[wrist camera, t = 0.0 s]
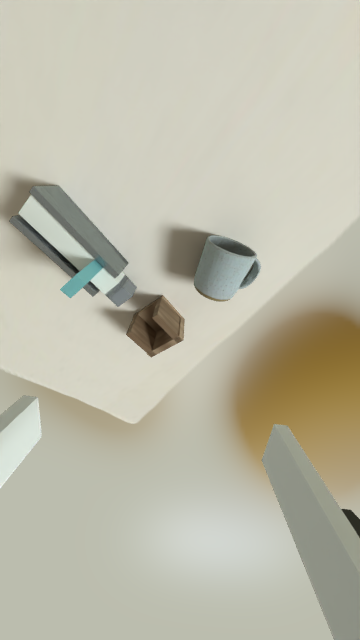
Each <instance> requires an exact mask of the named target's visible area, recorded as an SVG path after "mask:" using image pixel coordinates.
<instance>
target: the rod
mask: <svg viewBox="0 0 360 640" xmlns="http://www.w3.org/2000/svg"><path fill="white" fill-rule="evenodd" d="M18 214H19V215H20V216H22V217H23V218H24V219H25V220H26V221H27V222H28V223H29V224H30V225H31V226H32V227H33V228H34V229H35V230H36V231H38V232H39V233H40V234H41V235H42V236H43V237H44V238H45V239H46V240H47V241H48V242H49V243H50V244H51V245H53V246H54V247H55V248H56V249H57V250H58V251H59V252H60V253H61V254H62V255H63V256H64V257H65V258H66V259H67V260H69V261H70V262H71V263H72V264H73V265H74V266H75V267H76V268H77V269H78V270H79V271H80V272H79V273H77V274H76V275H75V276H74V277H73V278H72V279H71V280H70V281H69V282H68V283H66V284H65V285H64V286H63V287H62V288H61V289H60V290H61V291H62V292H63V293H65V294H66V295H67V296H68V297H69V298H71V297H72V296H74V295H75V294H76V293H77V292H78V291H79V290H80V289H81V288H83V287H84V286H85V285H86V284H87V283H88V282H89V281H91V282H92V283H93V284H94V285H95V286H96V287H97V288H98V289H100V290H101V291H102V292H103V293H104V294H105V295H106V296H107V297H108V298H109V299H110V300H111V301H112V302H113V303H114V304H116V305H117V306H118V307H119V306H120V305H121V304H123V303H124V302H125V301H127V300H128V299H130V298H131V297H132V296H133V294H134V292H135V290H136V288H137V287H136V286H135V285H134V284H133V283H132V282H131V280H130V279H129V278H128V277H127V276H126V275H125V274H124V273H123V272H121V273H120V275H119V276H117V277H116V278H114V277H113V276H112V275H111V274H110V273H109V272H108V271H107V270H106V269H105V268H104V267H103V266H102V265H101V264H100V263H99V262H98V261H97V260H96V259H95V258H94V257H93V256H92V255H91V254H90V253H89V252H88V251H87V250H86V249H85V248H84V247H83V246H82V245H81V244H80V243H79V242H78V241H77V240H76V239H75V238H74V237H73V236H72V235H71V234H70V233H69V232H68V231H67V230H66V229H65V228H64V227H63V226H62V225H61V224H60V223H59V222H58V221H57V220H56V219H55V218H54V217H53V216H52V215H51V214H50V213H49V212H48V211H47V210H46V209H45V208H44V207H43V206H42V205H41V204H40V203H39V202H38V201H37V200H36V199H35V198H34V197H33V196H32V195H31V196H30V197H29V198H28V200H27V201H26V203H25V204H24V205H23V207H22V208H21V210H20V211H19V213H18Z"/></svg>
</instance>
